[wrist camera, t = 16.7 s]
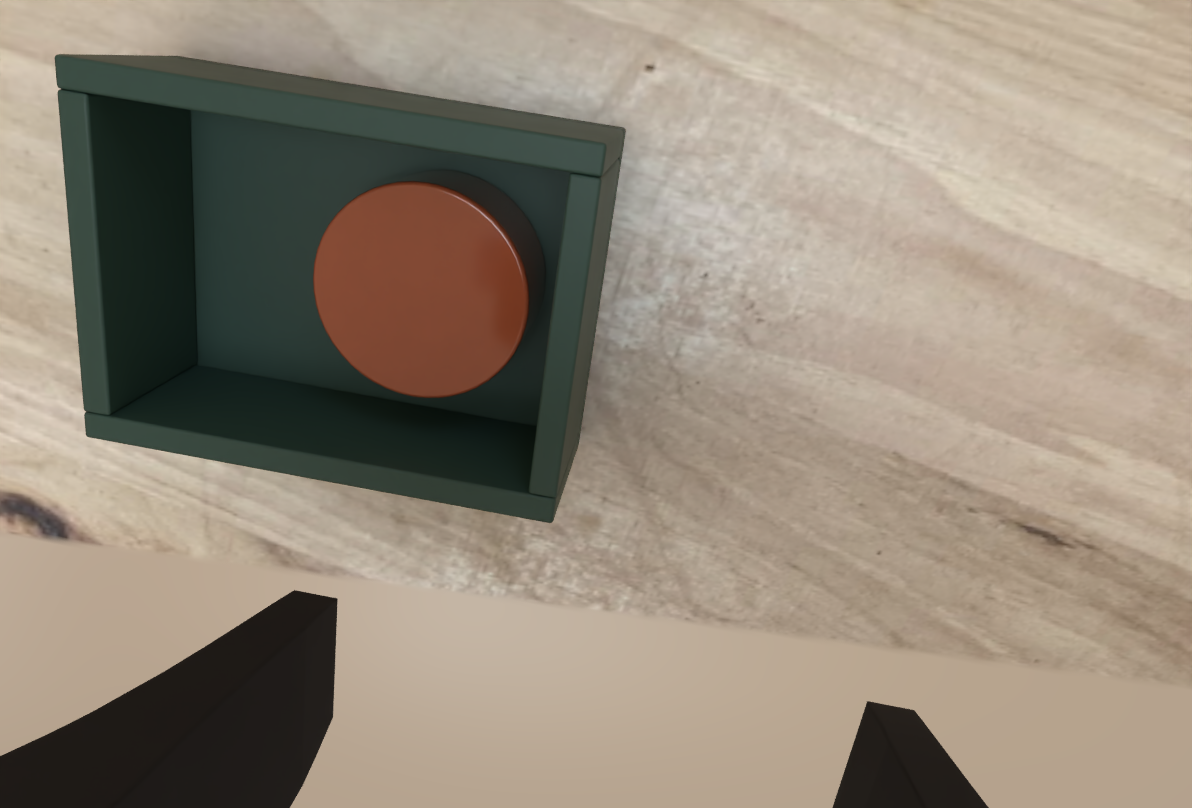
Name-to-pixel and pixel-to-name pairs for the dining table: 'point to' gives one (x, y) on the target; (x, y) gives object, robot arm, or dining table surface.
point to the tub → (285, 275)
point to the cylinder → (429, 282)
